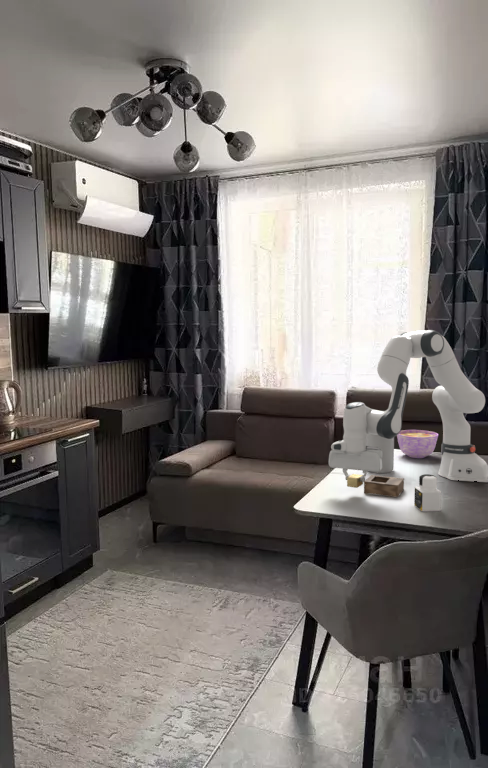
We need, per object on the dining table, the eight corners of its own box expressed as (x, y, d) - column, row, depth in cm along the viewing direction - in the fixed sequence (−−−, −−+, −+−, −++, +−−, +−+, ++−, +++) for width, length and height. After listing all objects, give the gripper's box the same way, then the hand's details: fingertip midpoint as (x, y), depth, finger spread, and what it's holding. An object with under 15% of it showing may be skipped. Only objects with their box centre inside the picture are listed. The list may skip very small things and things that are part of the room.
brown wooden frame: (403, 489, 232) (403, 478, 231) (397, 497, 222) (397, 485, 221) (371, 485, 237) (371, 474, 237) (363, 492, 228) (364, 481, 227)
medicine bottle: (414, 505, 211) (414, 473, 210) (433, 505, 212) (433, 472, 211) (421, 511, 204) (422, 478, 203) (441, 511, 205) (442, 477, 204)
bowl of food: (387, 454, 295) (388, 431, 294) (420, 450, 302) (421, 428, 301) (412, 462, 277) (412, 438, 276) (446, 458, 284) (447, 435, 283)
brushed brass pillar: (363, 484, 225) (363, 475, 225) (357, 487, 220) (357, 478, 220) (353, 482, 227) (353, 473, 227) (347, 486, 222) (347, 477, 222)
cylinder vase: (383, 465, 271) (384, 412, 268) (398, 472, 259) (400, 416, 256) (359, 468, 267) (360, 414, 264) (374, 474, 255) (375, 418, 253)
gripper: (384, 445, 220) (384, 481, 222) (332, 441, 229) (332, 476, 231) (380, 449, 214) (380, 485, 216) (327, 444, 224) (327, 480, 225)
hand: (355, 480), depth 223 cm, fingers closed on brushed brass pillar, 4 cm apart
